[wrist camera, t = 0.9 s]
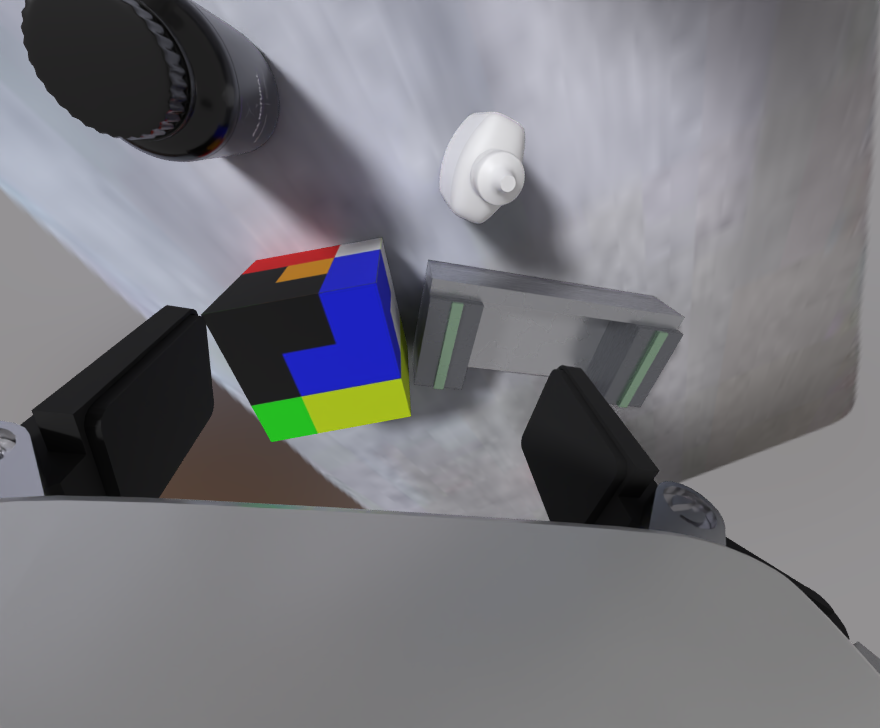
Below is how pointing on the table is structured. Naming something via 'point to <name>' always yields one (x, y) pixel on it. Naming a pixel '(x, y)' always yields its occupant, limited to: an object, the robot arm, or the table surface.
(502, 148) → the eye dropper bottle
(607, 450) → the robot arm
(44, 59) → the supplement bottle
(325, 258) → the puzzle toy
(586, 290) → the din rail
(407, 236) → the table surface
